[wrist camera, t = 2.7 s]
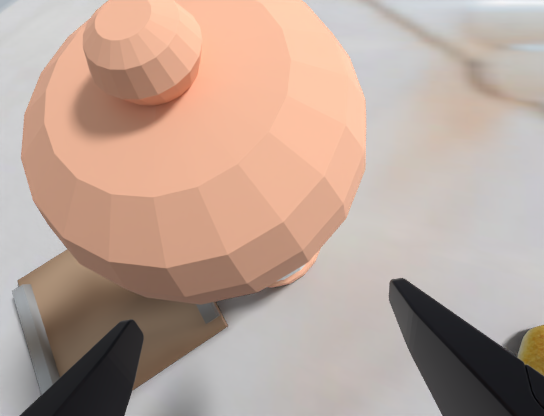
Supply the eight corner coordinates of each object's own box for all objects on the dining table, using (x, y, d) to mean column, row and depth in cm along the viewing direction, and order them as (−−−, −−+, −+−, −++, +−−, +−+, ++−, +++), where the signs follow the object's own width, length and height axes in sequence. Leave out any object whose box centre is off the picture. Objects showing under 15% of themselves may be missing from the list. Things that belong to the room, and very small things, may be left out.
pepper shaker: (267, 305, 20) (-62, 578, 2) (215, 234, 22) (-196, 23, 4) (337, 246, 21) (614, 5, 2) (280, 182, 23) (199, -216, 4)
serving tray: (228, 326, 20) (223, 328, 19) (69, 432, 19) (55, 442, 18) (159, 195, 24) (151, 191, 23) (23, 280, 23) (8, 280, 22)
